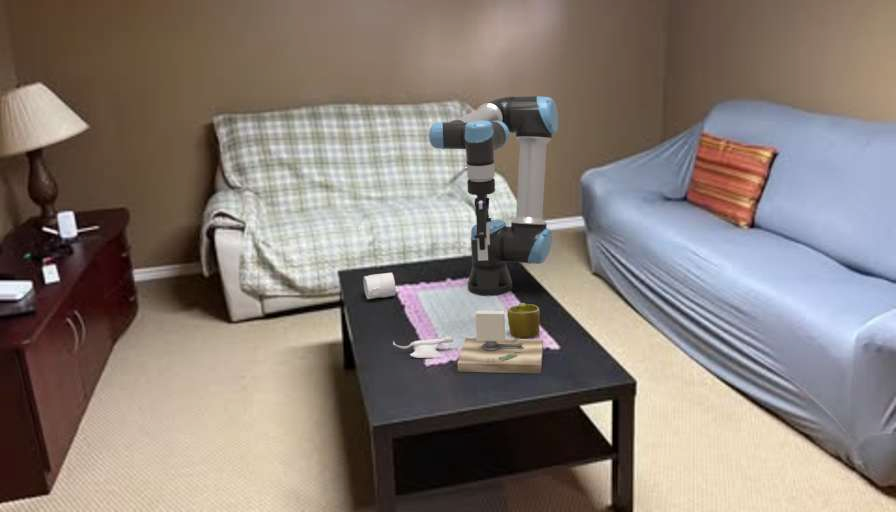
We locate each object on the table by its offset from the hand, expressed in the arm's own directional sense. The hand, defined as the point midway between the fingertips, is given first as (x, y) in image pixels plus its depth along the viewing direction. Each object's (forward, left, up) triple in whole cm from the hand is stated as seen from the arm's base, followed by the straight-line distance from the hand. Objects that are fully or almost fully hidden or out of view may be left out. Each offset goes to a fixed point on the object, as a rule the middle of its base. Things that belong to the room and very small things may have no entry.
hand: (484, 252), depth 217 cm
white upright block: (+12, +5, -24) cm, 27 cm away
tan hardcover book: (+14, +5, -26) cm, 30 cm away
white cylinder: (-33, -41, -27) cm, 58 cm away
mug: (-5, +10, -27) cm, 29 cm away
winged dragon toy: (+10, -17, -27) cm, 34 cm away
